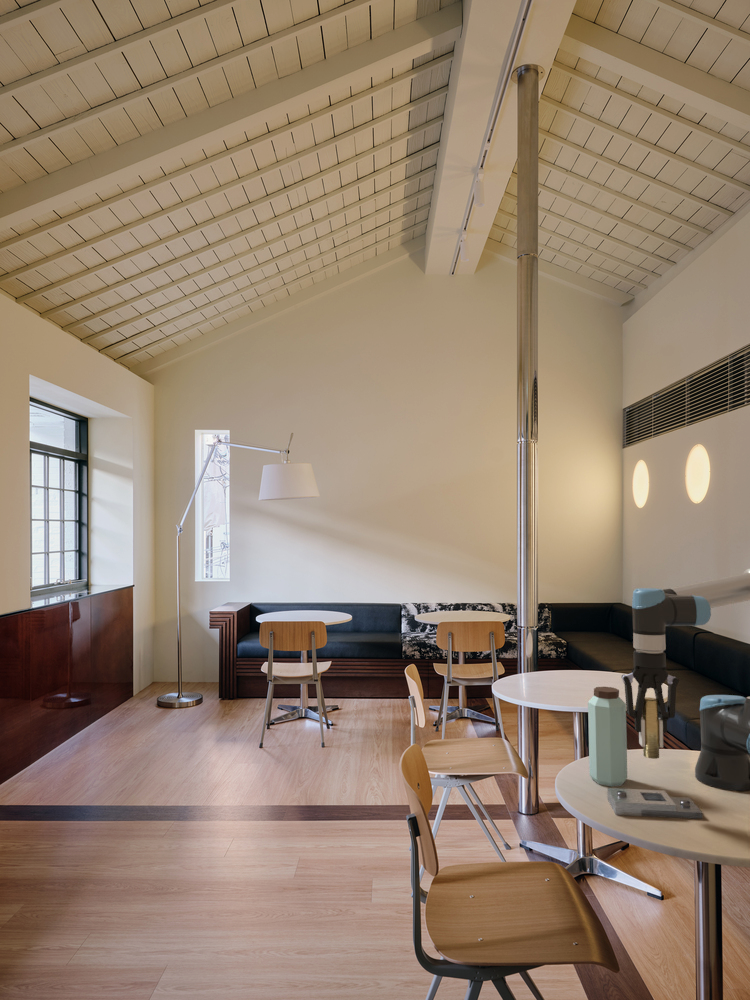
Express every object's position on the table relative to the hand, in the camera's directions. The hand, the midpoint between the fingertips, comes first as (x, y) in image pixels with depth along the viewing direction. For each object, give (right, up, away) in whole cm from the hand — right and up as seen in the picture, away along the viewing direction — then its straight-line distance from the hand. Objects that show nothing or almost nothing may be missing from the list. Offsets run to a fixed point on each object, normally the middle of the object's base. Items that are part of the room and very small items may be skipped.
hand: (651, 745), depth 164 cm
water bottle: (-4, -17, +18) cm, 25 cm away
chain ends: (0, -16, -1) cm, 16 cm away
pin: (0, -3, 0) cm, 3 cm away
